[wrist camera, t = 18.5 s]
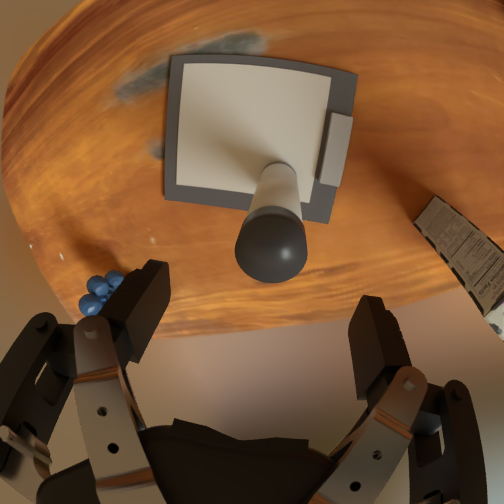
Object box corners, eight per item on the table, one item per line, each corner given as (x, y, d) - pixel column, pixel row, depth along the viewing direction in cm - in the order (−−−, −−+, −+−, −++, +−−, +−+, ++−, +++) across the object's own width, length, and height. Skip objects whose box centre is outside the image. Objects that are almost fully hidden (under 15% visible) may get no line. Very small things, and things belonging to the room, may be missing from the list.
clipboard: (174, 56, 21) (168, 54, 20) (356, 75, 20) (360, 73, 19) (166, 197, 29) (161, 202, 28) (327, 221, 29) (329, 228, 27)
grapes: (98, 260, 36) (51, 312, 25) (126, 244, 33) (75, 301, 23) (142, 317, 40) (110, 375, 30) (173, 309, 38) (142, 373, 28)
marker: (261, 157, 25) (237, 215, 13) (300, 163, 25) (314, 227, 13) (257, 193, 27) (232, 277, 15) (294, 199, 27) (299, 287, 15)
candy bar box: (477, 240, 27) (545, 321, 12) (455, 267, 29) (512, 356, 15) (435, 190, 25) (526, 271, 11) (410, 222, 27) (482, 322, 13)
